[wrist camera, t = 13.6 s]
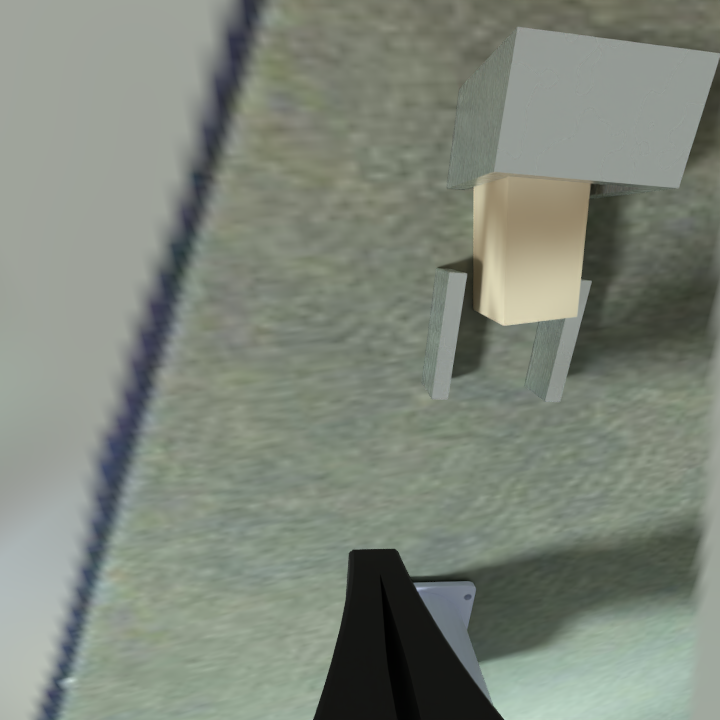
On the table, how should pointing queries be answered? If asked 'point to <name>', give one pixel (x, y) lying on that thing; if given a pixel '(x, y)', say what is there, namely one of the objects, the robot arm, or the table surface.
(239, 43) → the table surface
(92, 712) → the table surface
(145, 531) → the table surface
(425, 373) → the channel
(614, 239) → the table surface
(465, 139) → the block
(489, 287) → the beige rectangular bar
